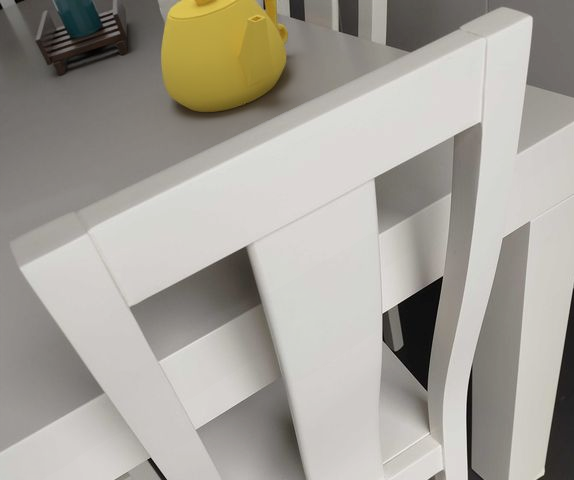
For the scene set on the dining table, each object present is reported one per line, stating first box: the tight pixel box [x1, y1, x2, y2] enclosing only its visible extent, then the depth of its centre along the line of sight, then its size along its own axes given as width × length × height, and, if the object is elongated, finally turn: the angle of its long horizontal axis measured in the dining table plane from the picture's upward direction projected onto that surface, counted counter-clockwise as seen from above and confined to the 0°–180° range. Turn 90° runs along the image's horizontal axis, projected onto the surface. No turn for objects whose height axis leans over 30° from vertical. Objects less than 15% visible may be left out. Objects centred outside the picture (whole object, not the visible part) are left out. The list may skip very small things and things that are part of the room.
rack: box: [35, 0, 129, 76], centre depth 103 cm, size 14×17×6 cm
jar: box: [157, 0, 182, 24], centre depth 90 cm, size 9×8×12 cm
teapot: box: [160, 0, 289, 113], centre depth 75 cm, size 20×19×13 cm
